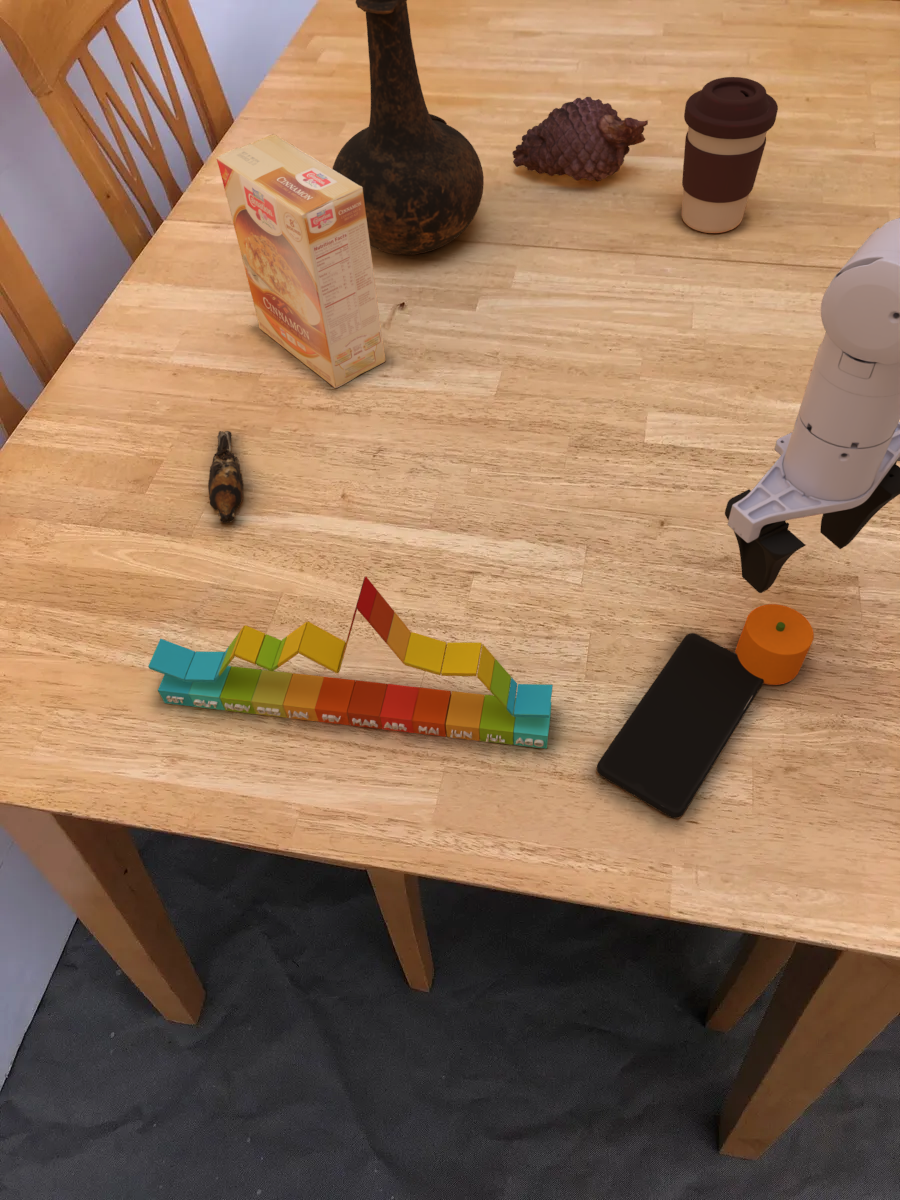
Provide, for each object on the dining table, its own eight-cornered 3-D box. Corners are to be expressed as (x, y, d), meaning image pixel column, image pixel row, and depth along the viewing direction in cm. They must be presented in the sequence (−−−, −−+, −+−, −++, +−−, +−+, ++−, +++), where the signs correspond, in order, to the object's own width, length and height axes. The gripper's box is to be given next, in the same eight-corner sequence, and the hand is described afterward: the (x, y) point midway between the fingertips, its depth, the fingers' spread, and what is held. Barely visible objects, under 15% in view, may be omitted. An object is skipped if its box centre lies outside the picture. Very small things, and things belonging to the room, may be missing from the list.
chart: (163, 705, 73) (96, 587, 61) (177, 672, 75) (115, 551, 63) (546, 752, 69) (553, 633, 57) (550, 715, 71) (558, 593, 59)
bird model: (208, 536, 84) (200, 516, 82) (216, 438, 93) (209, 417, 91) (243, 532, 84) (236, 512, 82) (247, 434, 93) (241, 414, 91)
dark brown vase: (506, 211, 116) (504, -49, 94) (446, 288, 106) (429, 18, 84) (381, 187, 121) (352, -64, 99) (313, 259, 112) (264, -2, 90)
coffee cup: (663, 236, 111) (681, 106, 99) (676, 194, 116) (694, 66, 105) (748, 245, 108) (777, 114, 97) (757, 202, 114) (785, 73, 102)
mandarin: (813, 665, 72) (829, 630, 69) (769, 695, 70) (784, 661, 67) (764, 625, 75) (778, 590, 72) (721, 653, 73) (733, 618, 70)
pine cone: (508, 196, 118) (497, 110, 115) (529, 198, 127) (519, 118, 124) (648, 167, 111) (639, 75, 108) (659, 171, 120) (652, 86, 117)
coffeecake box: (257, 328, 104) (212, 156, 88) (309, 302, 106) (275, 130, 91) (334, 391, 96) (300, 214, 81) (388, 361, 99) (365, 184, 83)
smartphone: (771, 669, 71) (679, 819, 64) (768, 675, 72) (677, 824, 65) (689, 628, 74) (593, 767, 67) (687, 634, 74) (592, 773, 67)
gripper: (883, 343, 61) (828, 488, 72) (712, 425, 57) (680, 566, 68) (970, 400, 57) (898, 545, 68) (793, 493, 53) (746, 632, 64)
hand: (794, 560), depth 68 cm, fingers open, 7 cm apart
